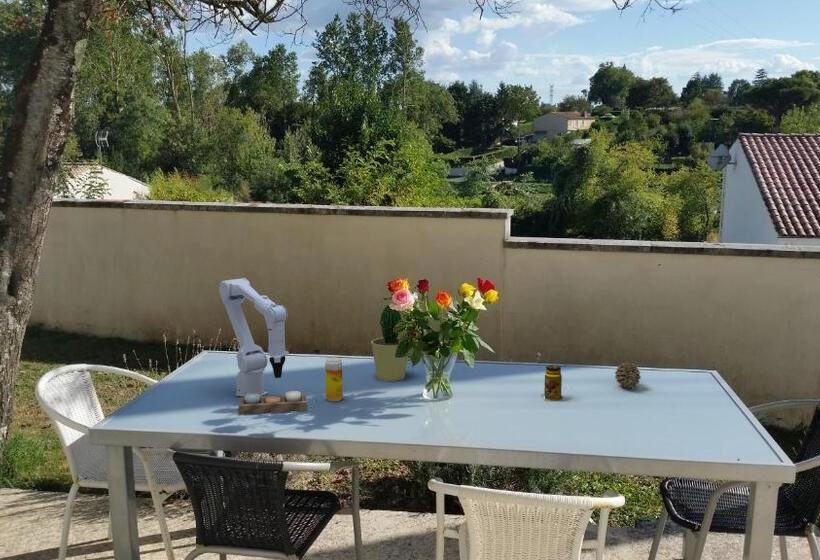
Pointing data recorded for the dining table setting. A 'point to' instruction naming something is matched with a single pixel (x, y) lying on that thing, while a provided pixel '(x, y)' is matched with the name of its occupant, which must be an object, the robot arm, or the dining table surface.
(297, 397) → the cream button
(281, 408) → the button board
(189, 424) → the dining table surface
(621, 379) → the pine cone
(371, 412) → the dining table surface
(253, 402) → the slate button
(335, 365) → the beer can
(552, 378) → the condiment
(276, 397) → the terracotta button
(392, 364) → the potted cactus
